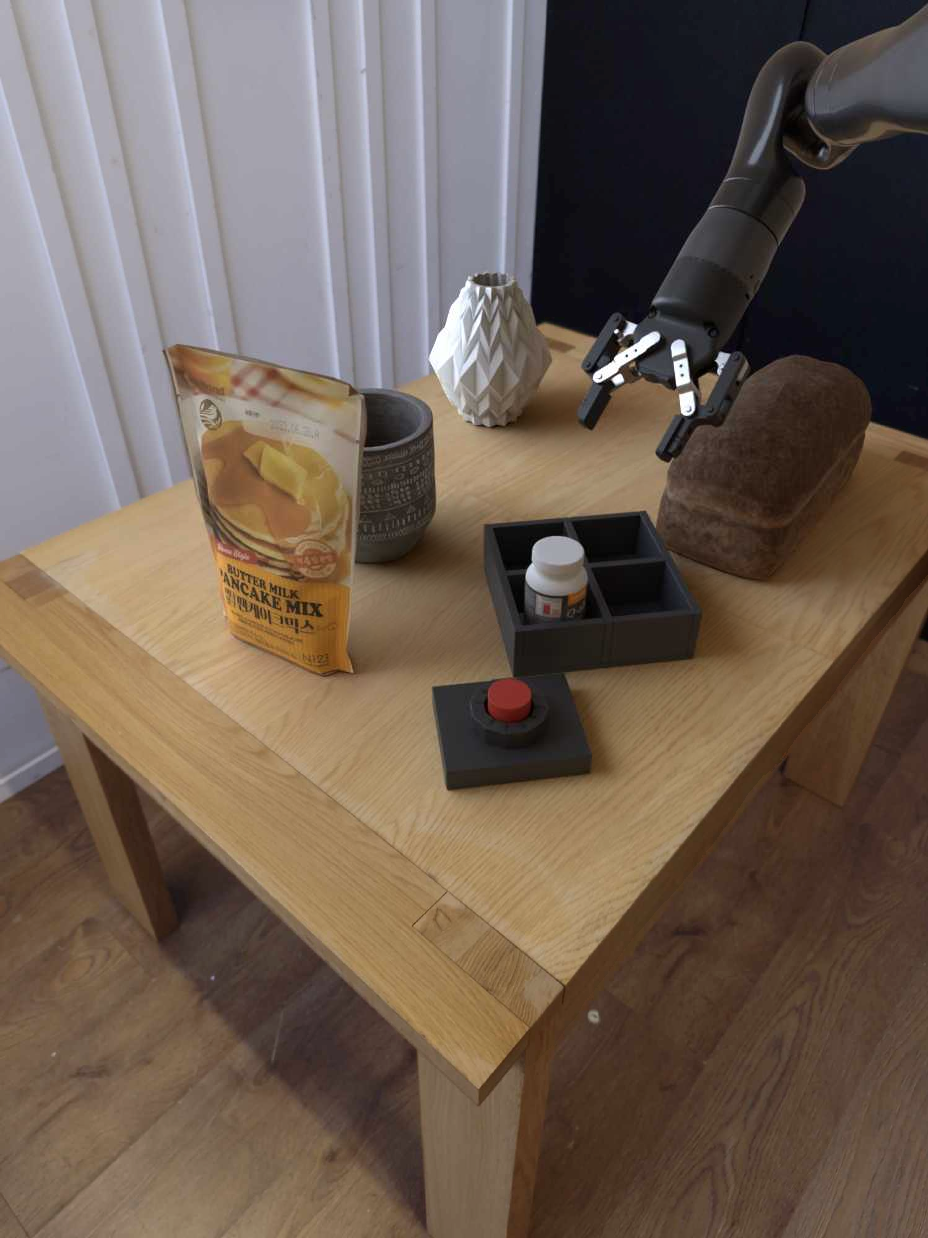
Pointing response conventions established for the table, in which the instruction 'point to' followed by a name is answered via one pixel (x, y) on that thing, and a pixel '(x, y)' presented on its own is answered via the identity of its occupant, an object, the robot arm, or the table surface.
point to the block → (509, 735)
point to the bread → (765, 467)
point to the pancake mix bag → (276, 497)
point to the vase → (490, 351)
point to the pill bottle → (555, 582)
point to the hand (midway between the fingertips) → (621, 441)
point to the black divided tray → (594, 596)
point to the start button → (509, 701)
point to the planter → (395, 475)
